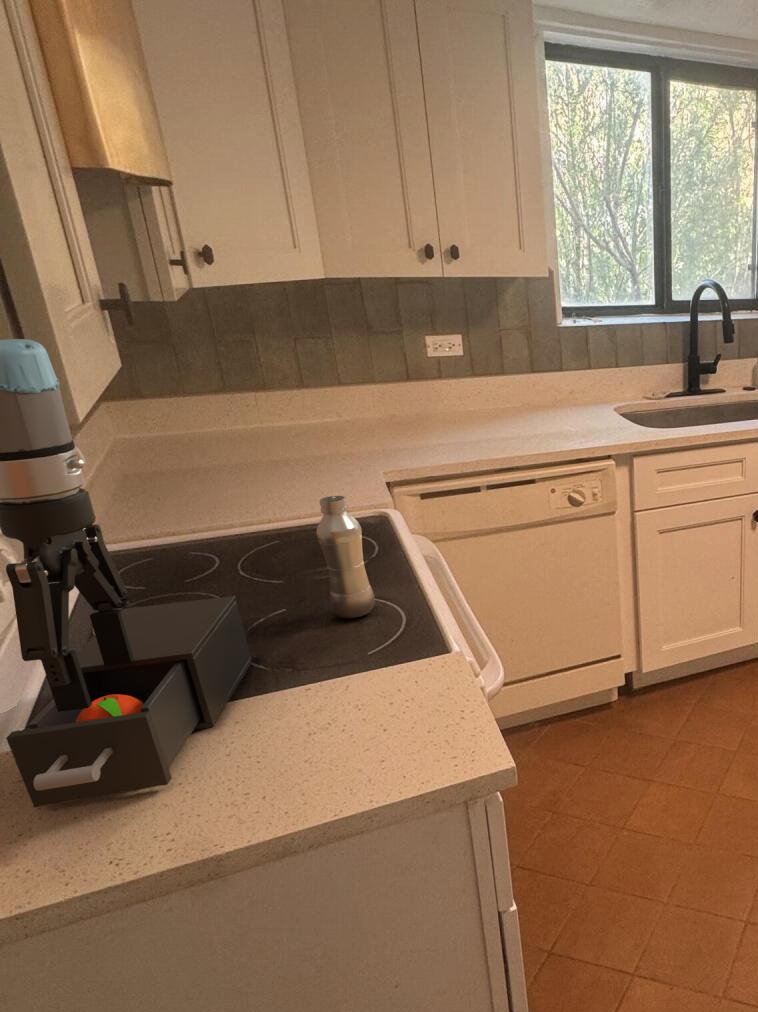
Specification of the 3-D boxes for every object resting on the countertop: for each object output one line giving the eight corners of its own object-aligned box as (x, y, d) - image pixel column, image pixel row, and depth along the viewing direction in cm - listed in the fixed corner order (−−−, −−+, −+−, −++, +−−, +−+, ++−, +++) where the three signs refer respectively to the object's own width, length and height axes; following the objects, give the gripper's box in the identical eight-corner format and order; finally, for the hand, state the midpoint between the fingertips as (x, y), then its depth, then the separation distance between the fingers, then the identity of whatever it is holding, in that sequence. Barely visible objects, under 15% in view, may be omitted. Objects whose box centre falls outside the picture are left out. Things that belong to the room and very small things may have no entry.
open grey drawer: (150, 813, 82) (126, 743, 79) (7, 839, 79) (-24, 766, 76) (215, 706, 102) (198, 646, 98) (103, 723, 98) (81, 661, 95)
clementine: (172, 749, 91) (156, 696, 89) (100, 780, 86) (81, 725, 83) (145, 726, 95) (128, 675, 93) (75, 754, 90) (55, 701, 88)
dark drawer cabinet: (213, 727, 99) (192, 652, 95) (86, 746, 95) (58, 670, 91) (252, 661, 115) (235, 595, 111) (144, 676, 111) (122, 608, 107)
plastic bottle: (361, 602, 133) (338, 490, 126) (386, 611, 130) (364, 496, 123) (325, 617, 128) (299, 501, 121) (350, 626, 125) (325, 508, 118)
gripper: (23, 522, 71) (90, 732, 79) (130, 466, 92) (175, 637, 99) (-79, 529, 69) (-1, 744, 77) (53, 470, 90) (105, 644, 97)
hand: (98, 684), depth 88 cm, fingers open, 10 cm apart
